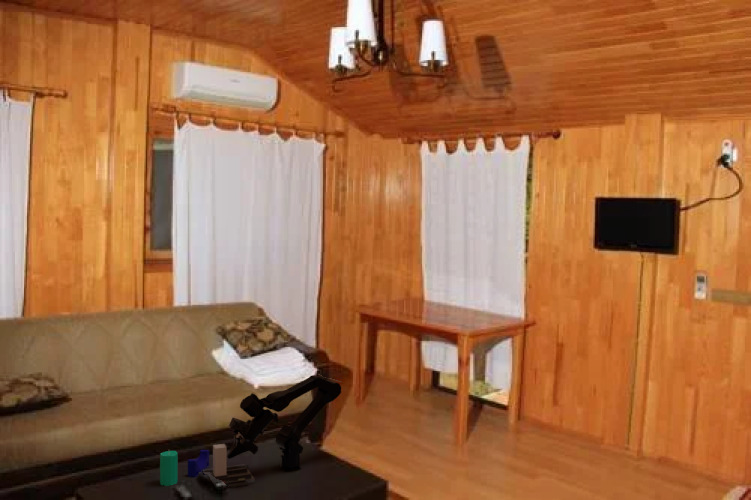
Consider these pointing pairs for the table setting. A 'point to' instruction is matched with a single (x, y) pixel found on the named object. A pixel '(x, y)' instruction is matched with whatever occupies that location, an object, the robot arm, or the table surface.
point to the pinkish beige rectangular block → (219, 461)
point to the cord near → (238, 484)
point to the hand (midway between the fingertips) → (228, 457)
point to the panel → (237, 476)
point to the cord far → (228, 468)
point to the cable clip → (198, 463)
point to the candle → (168, 468)
